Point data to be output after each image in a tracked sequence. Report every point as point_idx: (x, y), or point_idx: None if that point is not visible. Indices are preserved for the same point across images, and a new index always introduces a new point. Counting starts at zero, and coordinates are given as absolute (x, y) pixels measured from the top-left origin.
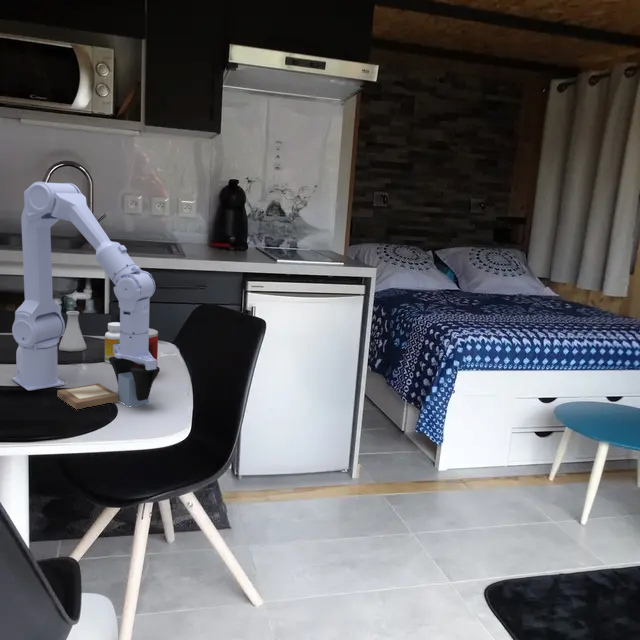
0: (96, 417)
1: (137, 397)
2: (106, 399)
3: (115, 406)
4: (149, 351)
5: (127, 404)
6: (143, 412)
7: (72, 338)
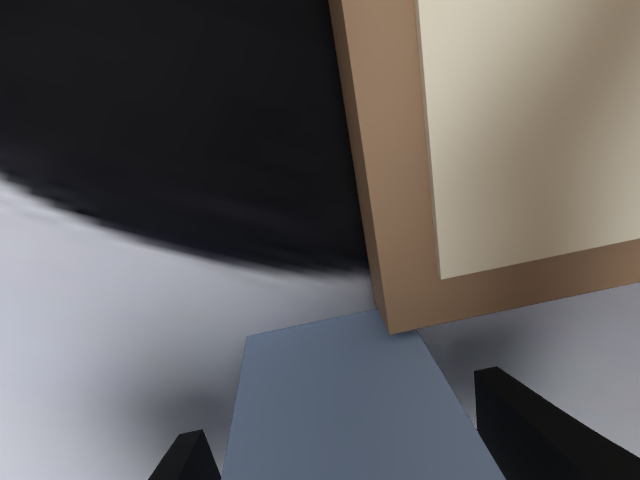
0: (81, 53)
1: (178, 450)
2: (371, 225)
3: (300, 263)
4: None
5: (262, 343)
6: (121, 395)
7: None
